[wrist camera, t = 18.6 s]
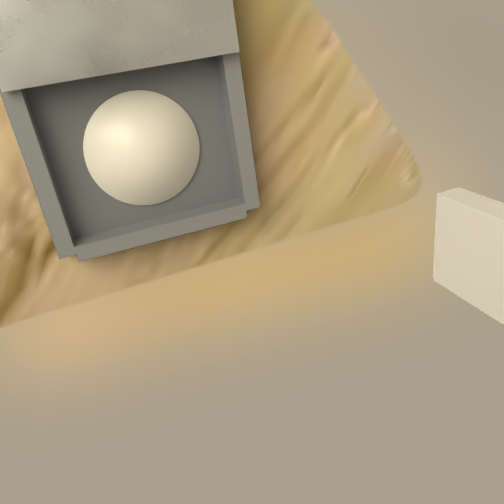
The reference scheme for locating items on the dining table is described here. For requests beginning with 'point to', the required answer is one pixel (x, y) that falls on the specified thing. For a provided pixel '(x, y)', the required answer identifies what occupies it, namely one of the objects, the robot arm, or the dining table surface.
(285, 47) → the dining table surface
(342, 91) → the dining table surface
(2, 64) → the lid
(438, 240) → the robot arm
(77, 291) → the dining table surface
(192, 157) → the holder
